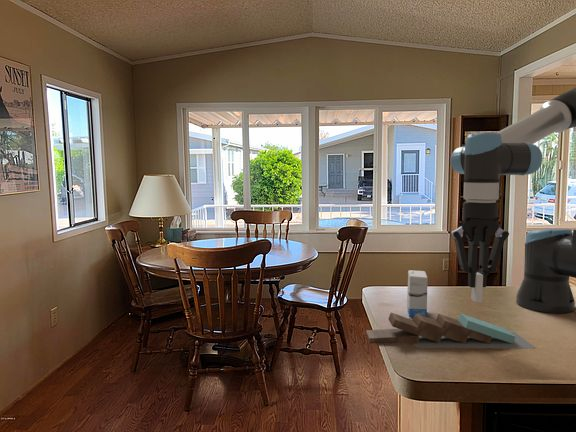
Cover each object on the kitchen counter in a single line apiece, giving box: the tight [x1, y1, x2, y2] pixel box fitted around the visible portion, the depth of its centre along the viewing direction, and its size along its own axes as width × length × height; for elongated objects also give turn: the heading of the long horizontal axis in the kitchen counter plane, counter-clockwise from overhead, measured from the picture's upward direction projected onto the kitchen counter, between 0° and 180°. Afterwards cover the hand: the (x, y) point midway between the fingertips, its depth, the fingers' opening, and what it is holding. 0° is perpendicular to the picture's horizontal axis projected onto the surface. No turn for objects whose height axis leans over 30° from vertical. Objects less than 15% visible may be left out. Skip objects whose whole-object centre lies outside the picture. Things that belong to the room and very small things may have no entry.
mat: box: [412, 331, 536, 349], centre depth 106 cm, size 27×10×1 cm, turn 88°
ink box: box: [406, 269, 428, 318], centre depth 125 cm, size 8×5×12 cm, turn 168°
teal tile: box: [457, 313, 515, 344], centre depth 105 cm, size 2×5×12 cm
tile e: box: [365, 328, 419, 345], centre depth 106 cm, size 2×5×12 cm
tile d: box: [387, 312, 442, 342], centre depth 106 cm, size 2×5×12 cm
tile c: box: [412, 313, 468, 344], centre depth 106 cm, size 2×5×12 cm
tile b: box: [435, 313, 492, 344], centre depth 106 cm, size 2×5×12 cm
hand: (476, 300), depth 105 cm, fingers closed
